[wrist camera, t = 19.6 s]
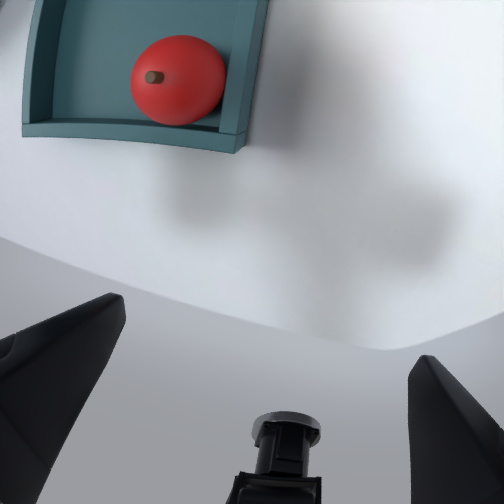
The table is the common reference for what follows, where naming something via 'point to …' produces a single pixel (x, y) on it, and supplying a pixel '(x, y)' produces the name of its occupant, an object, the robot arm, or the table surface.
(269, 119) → the table surface
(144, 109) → the apple
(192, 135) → the tray
